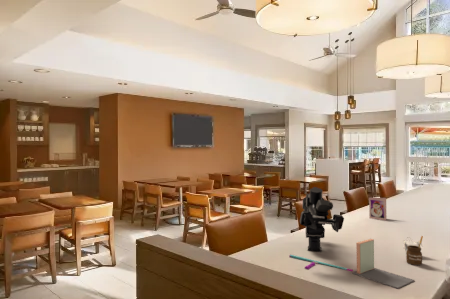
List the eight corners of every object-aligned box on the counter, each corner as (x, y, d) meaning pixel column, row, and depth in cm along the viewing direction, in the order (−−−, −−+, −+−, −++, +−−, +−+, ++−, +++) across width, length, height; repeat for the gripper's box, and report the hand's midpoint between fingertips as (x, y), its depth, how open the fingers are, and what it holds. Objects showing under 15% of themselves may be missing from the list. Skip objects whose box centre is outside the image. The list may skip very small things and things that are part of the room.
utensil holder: (404, 260, 144) (404, 233, 144) (420, 261, 142) (420, 234, 143) (408, 264, 139) (407, 236, 139) (424, 266, 137) (424, 237, 137)
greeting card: (368, 218, 235) (368, 197, 235) (373, 216, 240) (373, 196, 240) (385, 220, 227) (385, 199, 227) (389, 219, 232) (389, 198, 232)
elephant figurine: (417, 252, 155) (416, 237, 155) (424, 258, 146) (424, 243, 146) (399, 251, 157) (399, 236, 157) (406, 257, 148) (405, 242, 148)
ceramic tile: (356, 272, 129) (356, 242, 129) (371, 267, 134) (370, 238, 135) (360, 274, 127) (360, 243, 128) (374, 268, 133) (374, 239, 133)
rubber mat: (352, 273, 129) (352, 272, 129) (369, 267, 136) (369, 266, 136) (397, 288, 114) (397, 287, 114) (414, 281, 121) (414, 279, 121)
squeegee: (279, 259, 143) (290, 253, 151) (279, 263, 143) (290, 257, 151) (344, 276, 125) (352, 269, 132) (343, 280, 125) (352, 273, 132)
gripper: (300, 194, 149) (309, 210, 134) (340, 198, 149) (353, 215, 134) (296, 216, 152) (304, 234, 137) (335, 220, 152) (347, 238, 137)
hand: (327, 229), depth 136 cm, fingers open, 9 cm apart
